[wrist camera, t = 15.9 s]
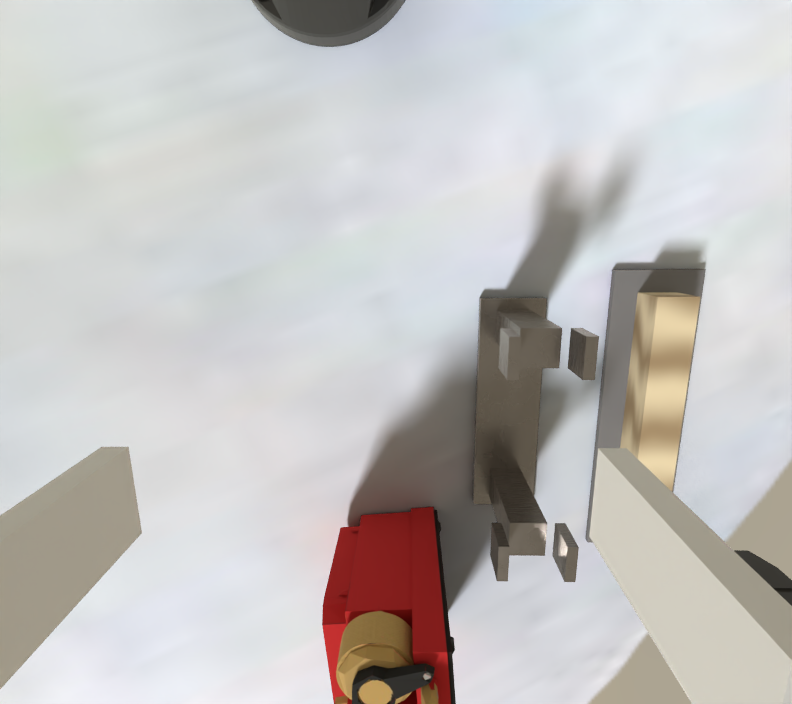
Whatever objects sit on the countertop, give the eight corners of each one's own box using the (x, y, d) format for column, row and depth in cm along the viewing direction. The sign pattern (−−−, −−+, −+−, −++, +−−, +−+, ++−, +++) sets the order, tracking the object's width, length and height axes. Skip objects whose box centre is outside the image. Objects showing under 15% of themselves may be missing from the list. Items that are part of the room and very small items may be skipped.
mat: (612, 269, 42) (615, 270, 42) (701, 269, 42) (705, 269, 42) (585, 538, 49) (587, 542, 48) (662, 539, 49) (665, 542, 48)
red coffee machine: (342, 507, 49) (298, 684, 29) (438, 501, 48) (459, 677, 29) (357, 631, 53) (328, 862, 33) (447, 627, 52) (471, 857, 33)
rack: (479, 297, 43) (509, 322, 31) (544, 297, 43) (600, 321, 30) (472, 499, 48) (495, 592, 36) (530, 500, 48) (574, 593, 35)
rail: (637, 292, 42) (657, 297, 39) (676, 292, 42) (700, 296, 39) (611, 525, 48) (626, 547, 44) (645, 525, 48) (663, 547, 44)
